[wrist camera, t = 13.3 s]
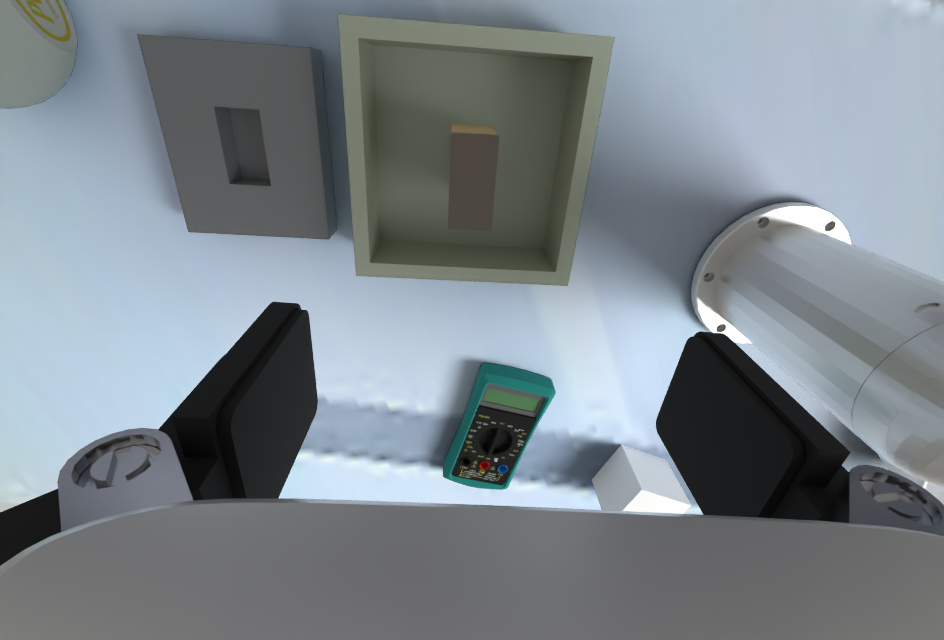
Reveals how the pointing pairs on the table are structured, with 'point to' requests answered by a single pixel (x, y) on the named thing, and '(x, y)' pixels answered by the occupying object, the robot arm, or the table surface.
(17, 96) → the air freshener
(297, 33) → the table surface
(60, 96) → the table surface
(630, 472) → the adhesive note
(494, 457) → the digital multimeter
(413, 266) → the parts tray
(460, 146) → the block
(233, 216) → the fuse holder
